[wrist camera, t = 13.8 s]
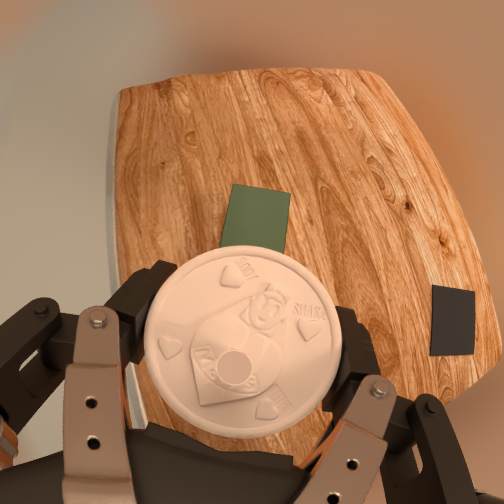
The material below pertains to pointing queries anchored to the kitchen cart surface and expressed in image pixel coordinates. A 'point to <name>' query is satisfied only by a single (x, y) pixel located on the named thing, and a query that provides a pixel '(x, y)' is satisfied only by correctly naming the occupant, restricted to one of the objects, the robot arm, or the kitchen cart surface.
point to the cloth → (452, 321)
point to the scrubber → (256, 218)
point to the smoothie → (242, 341)
